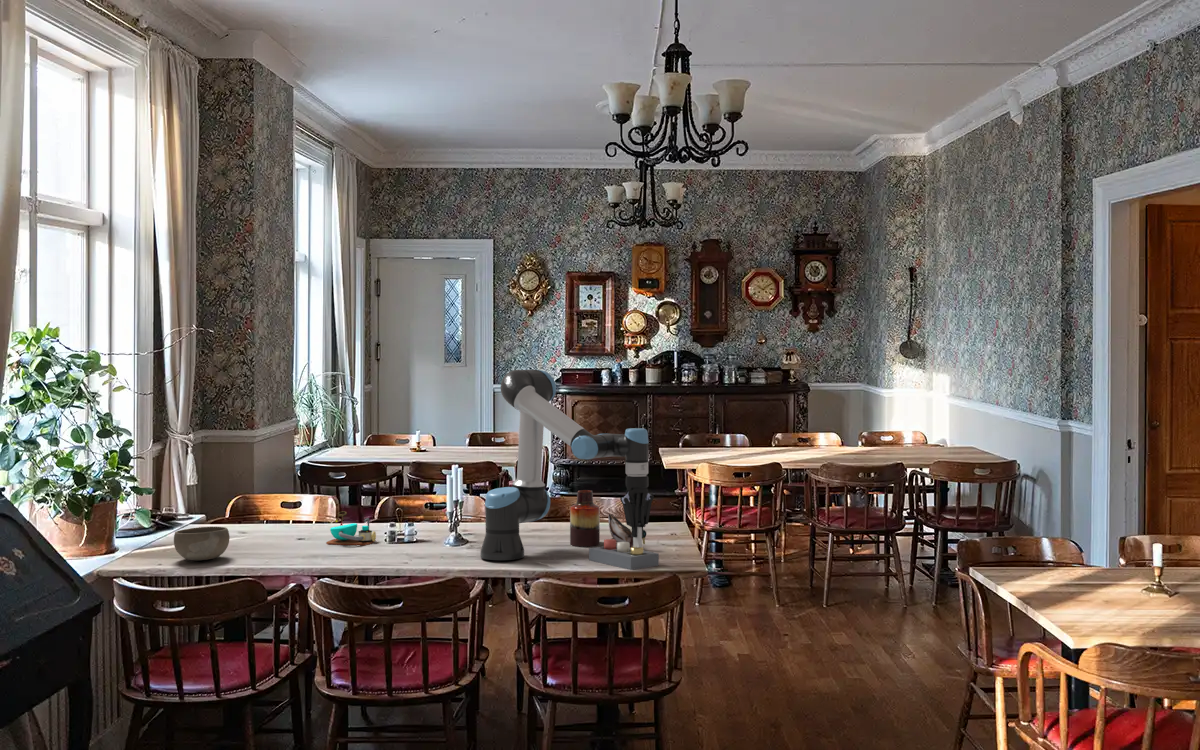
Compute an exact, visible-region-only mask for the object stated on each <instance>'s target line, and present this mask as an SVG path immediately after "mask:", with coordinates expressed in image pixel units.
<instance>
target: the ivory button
mask: <svg viewBox="0 0 1200 750" xmlns="http://www.w3.org/2000/svg"><path fill="white" fill-rule="evenodd" d="M616 543H617V544H616V545H617V552H621V553H625V552H630V543H629V542H616Z"/></svg>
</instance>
